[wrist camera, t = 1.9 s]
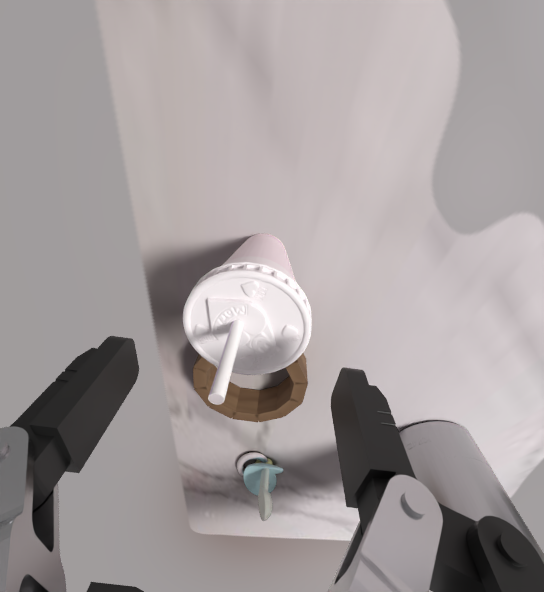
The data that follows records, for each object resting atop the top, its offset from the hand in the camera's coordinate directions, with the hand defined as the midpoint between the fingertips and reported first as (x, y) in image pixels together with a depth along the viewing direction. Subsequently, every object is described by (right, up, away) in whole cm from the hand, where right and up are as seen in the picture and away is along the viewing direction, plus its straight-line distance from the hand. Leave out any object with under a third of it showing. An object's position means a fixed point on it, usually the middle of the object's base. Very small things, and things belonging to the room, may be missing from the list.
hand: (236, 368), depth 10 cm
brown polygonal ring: (0, -4, +17) cm, 17 cm away
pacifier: (0, -20, +27) cm, 34 cm away
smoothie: (+1, +6, +11) cm, 13 cm away
